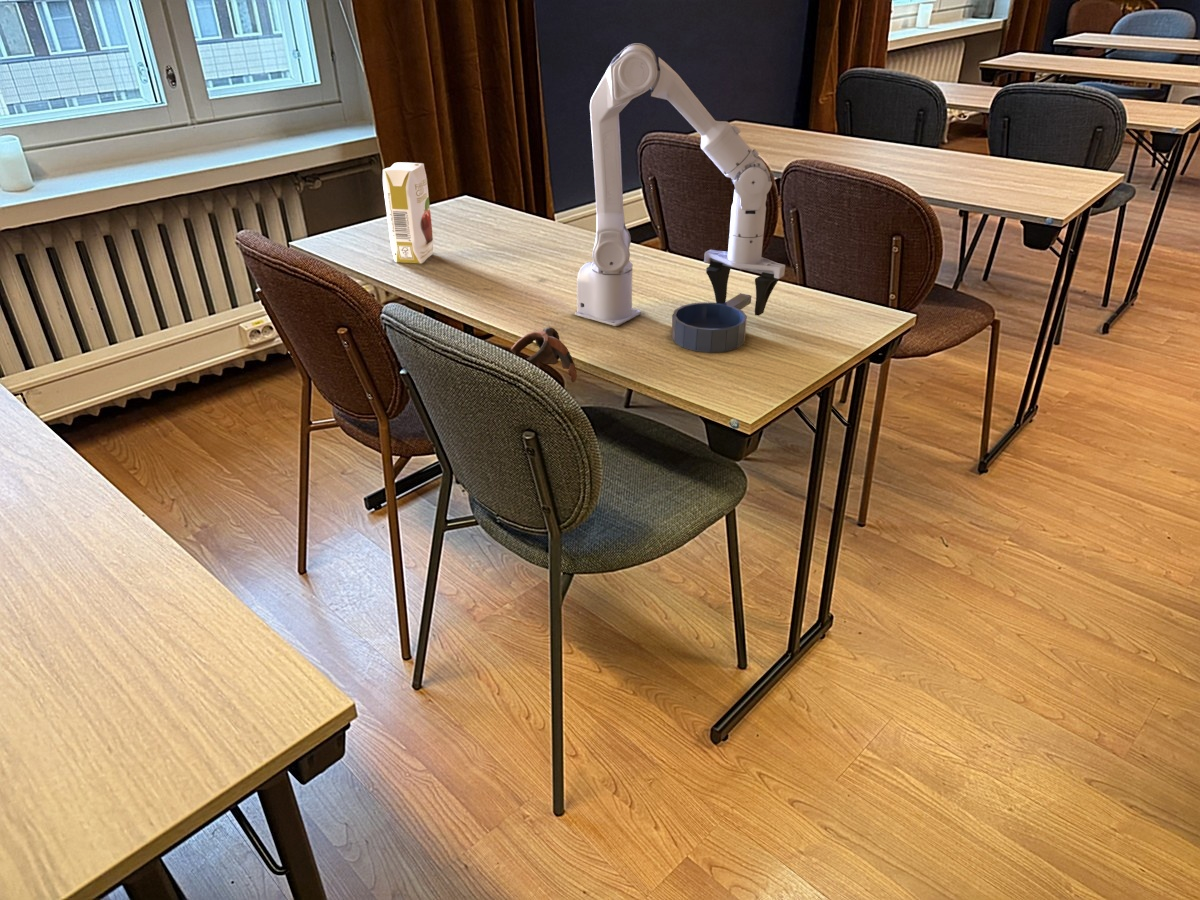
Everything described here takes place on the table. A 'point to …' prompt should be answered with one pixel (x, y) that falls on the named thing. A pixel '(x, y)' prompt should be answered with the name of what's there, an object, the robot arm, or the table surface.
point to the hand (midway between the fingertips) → (739, 309)
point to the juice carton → (408, 212)
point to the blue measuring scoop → (711, 325)
